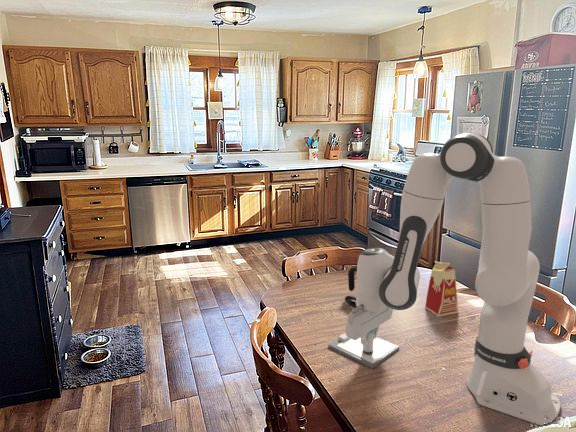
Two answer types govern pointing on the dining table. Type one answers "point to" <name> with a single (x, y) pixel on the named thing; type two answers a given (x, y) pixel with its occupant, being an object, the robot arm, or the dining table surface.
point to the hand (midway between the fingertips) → (368, 341)
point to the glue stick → (369, 343)
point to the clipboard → (355, 350)
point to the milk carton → (442, 290)
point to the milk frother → (351, 286)
